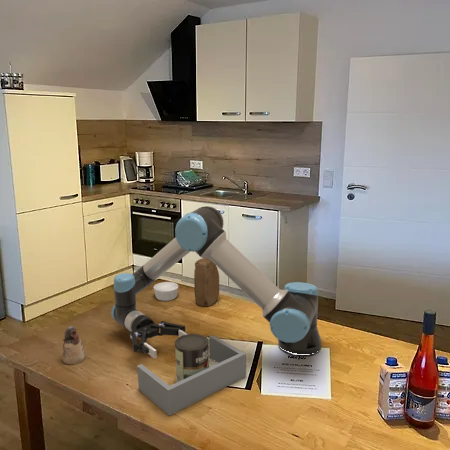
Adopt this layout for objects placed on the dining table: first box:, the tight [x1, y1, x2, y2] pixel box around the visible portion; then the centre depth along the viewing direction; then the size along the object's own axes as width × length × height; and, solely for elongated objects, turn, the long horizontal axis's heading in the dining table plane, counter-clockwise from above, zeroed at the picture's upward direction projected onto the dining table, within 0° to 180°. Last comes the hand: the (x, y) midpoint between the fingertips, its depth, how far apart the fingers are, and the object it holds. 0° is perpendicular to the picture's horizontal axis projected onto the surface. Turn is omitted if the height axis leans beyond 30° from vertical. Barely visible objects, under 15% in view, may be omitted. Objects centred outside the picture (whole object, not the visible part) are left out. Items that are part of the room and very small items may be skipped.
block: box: [193, 258, 220, 307], centre depth 199 cm, size 11×8×20 cm
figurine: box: [62, 325, 86, 365], centre depth 156 cm, size 7×7×12 cm
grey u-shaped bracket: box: [136, 334, 247, 417], centre depth 142 cm, size 16×29×8 cm, turn 131°
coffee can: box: [174, 333, 210, 383], centre depth 141 cm, size 10×10×14 cm
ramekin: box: [153, 281, 179, 302], centre depth 208 cm, size 11×11×5 cm
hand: (173, 347), depth 148 cm, fingers open, 13 cm apart
